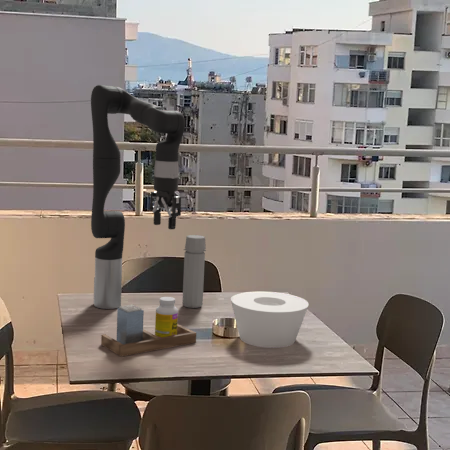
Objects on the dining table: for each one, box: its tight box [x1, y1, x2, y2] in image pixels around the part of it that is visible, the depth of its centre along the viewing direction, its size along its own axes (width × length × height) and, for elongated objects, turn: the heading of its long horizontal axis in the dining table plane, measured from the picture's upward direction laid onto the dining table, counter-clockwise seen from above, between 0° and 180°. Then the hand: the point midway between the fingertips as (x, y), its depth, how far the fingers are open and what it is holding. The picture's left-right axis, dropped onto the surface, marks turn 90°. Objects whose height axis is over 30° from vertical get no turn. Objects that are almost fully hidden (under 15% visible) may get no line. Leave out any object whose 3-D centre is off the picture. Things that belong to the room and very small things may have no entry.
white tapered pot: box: [230, 291, 310, 349], centre depth 224 cm, size 24×24×12 cm
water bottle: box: [182, 234, 207, 309], centre depth 257 cm, size 9×8×25 cm
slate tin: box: [116, 304, 145, 344], centre depth 211 cm, size 6×6×12 cm
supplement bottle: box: [154, 296, 179, 338], centre depth 218 cm, size 7×7×13 cm
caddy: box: [100, 323, 197, 357], centre depth 215 cm, size 12×26×3 cm, turn 127°
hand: (164, 226), depth 228 cm, fingers open, 8 cm apart
